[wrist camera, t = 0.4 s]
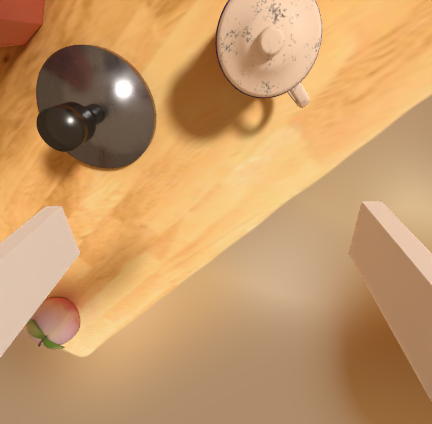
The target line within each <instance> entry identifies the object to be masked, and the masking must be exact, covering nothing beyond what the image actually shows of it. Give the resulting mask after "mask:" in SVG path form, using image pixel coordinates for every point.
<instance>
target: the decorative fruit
mask: <svg viewBox="0 0 432 424" xmlns="http://www.w3.org/2000/svg"><path fill="white" fill-rule="evenodd" d="M26 328H27V332H28V334H29V335H30V337H31V338H32V339H33V340H34V341H35V342H37V343H39V345H38V346H40V345H41V344H42V345H45V346H46V347H47V348H50V349H63V348H65V347H63V346H60V345H62V344H64V343H66V342H68V341H69V340H70V339H72V338H73V337H74V336H75V334H76V333H77V332H78V330H79V328H80V316H79V312H78V310H77V308H76V306H75V305H74V304H73V303H72V302H70V301H69V300H68V299H64V298H49V299H46V300H44V301H43V303H42V304H41V305H40V306H39V308H38V309H37V310H36V312H35V313H34V314H33V316H32V317H31V318H30V320H29V321H28V322H27V323H26Z"/></svg>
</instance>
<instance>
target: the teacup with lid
mask: <svg viewBox="0 0 432 424" xmlns="http://www.w3.org/2000/svg"><path fill="white" fill-rule="evenodd" d="M321 38H322V21H321V15H320V11H319V8H318V5H317V3H316V1H315V0H228V2H227V3H226V5H225V7H224V9H223V11H222V13H221V16H220V19H219V22H218V26H217V31H216V53H217V58H218V62H219V65H220V67H221V70H222V72H223V74H224V75H225V77H226V78H227V80H228V81H229V82H230V83H231V84H232V85H233V86H234V87H235V88H236V89H237V90H239V91H240V92H242V93H244V94H246V95H248V96H252V97H256V98H271V97H276V96H279V95H282V94H284V93H286V92H288V94H289V95H290V96H291V98H292V99H293V100H294V102H295V103H296V104H297V105H298V106H299V107H300V108H303V107H305V106H306V105H307V104H309V102H310V98H309V96H308V94H307V92H306V90H305V88H304V87H303V85H302V84H301V81H302V80H303V79H304V78H305V76H306V75H307V74H308V73H309V71H310V70H311V68H312V66H313V64H314V62H315V60H316V58H317V55H318V52H319V49H320V44H321Z"/></svg>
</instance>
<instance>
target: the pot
mask: <svg viewBox="0 0 432 424" xmlns="http://www.w3.org/2000/svg"><path fill="white" fill-rule="evenodd" d="M43 11H44V0H0V48H1V47H10V46H18V45H25V44H26V43H27V42H28V41H29V39H30V38H31V37H32V36H33V35H34V33H35V32H36V31H37V30H38V29H39V27H40V26H41V25H42V22H43Z"/></svg>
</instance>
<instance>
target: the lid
mask: <svg viewBox="0 0 432 424" xmlns="http://www.w3.org/2000/svg"><path fill="white" fill-rule="evenodd" d="M36 96H37V104H38V108H39V112H40V113H39V115H38V117H37V129H38V132H39V134H40V136H41V137H42V139H43V140H44V141H45V142H46V143H47V144H48V145H49V146H50V147H52V148H54V149H56V150H58V151H63V152H68V153H69V154H70V155H72V156H73V157H75V158H76V159H78V160H80V161H82V162H84V163H86V164H89V165H92V166H96V167H100V168H118V167H122V166H126V165H128V164H130V163H132V162H133V161H135V160H137V159H138V158H139V157H140V156H141V155H142V154H143V153H144V152H145V150H146V149H147V148H148V146H149V145H150V143H151V141H152V139H153V136H154V133H155V128H156V110H155V104H154V100H153V97H152V95H151V92H150V90H149V88H148V86H147V84H146V82H145V81H144V79H143V78H142V76H141V75H140V74H139V72H138V71H137V70H136V69H135V68H134V67H133V66H132V65H131V64H130V63H129V62H128V61H127V60H125V59H124V58H123V57H121V56H120V55H118V54H116V53H115V52H113V51H110V50H108V49H106V48H102V47H99V46H93V45H73V46H68V47H65V48H63V49H60V50H58V51H57V52H55V53H54V54H53V55H51V56H50V57H49V58H48V59H47V61H46V62H45V63H44V65H43V67H42V69H41V70H40V73H39V76H38V80H37V86H36Z"/></svg>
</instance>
